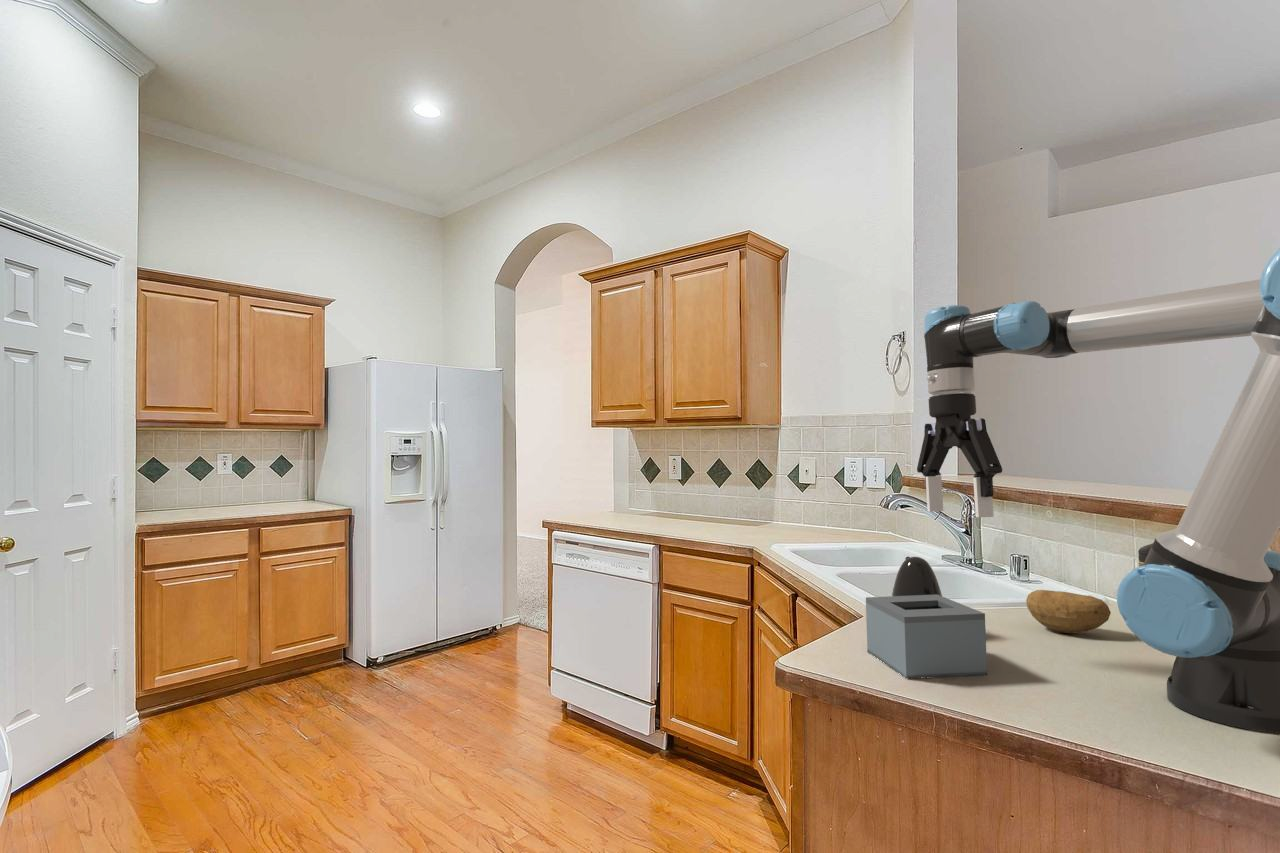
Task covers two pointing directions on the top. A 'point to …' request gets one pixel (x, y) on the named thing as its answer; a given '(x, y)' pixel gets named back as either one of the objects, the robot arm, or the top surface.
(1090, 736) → the top surface
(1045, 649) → the top surface
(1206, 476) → the robot arm
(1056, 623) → the potato
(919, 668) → the box
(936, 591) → the black dome cover
